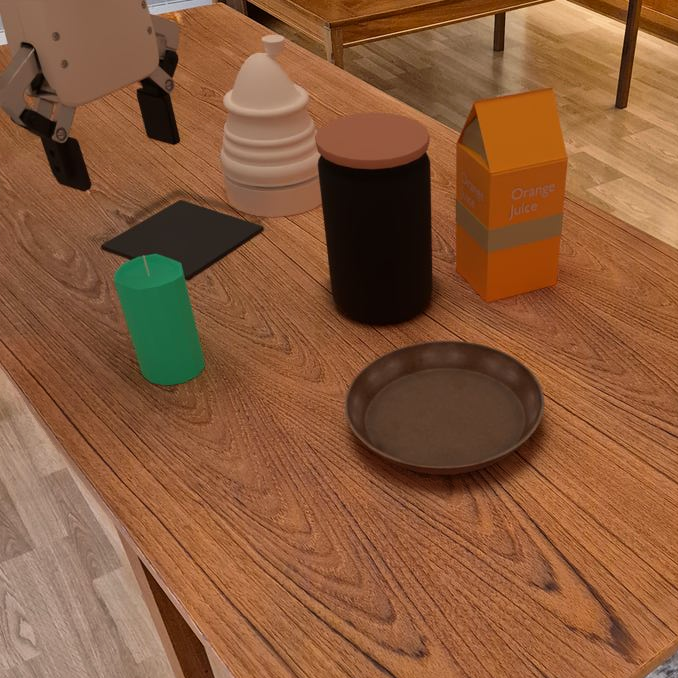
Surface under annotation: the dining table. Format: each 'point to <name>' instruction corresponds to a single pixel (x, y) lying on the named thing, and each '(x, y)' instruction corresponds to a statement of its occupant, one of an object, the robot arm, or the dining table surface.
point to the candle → (160, 319)
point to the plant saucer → (444, 406)
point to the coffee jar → (377, 215)
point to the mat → (185, 236)
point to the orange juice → (510, 194)
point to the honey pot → (269, 140)
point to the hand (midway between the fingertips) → (121, 162)
